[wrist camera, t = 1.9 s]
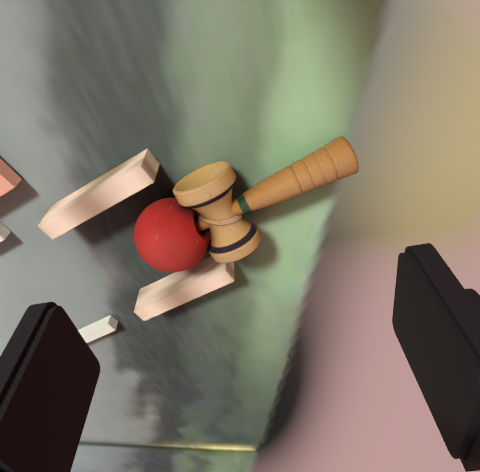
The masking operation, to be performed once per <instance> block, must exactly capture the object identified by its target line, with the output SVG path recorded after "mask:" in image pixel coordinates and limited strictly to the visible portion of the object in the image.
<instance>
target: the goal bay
mask: <svg viewBox="0 0 480 472" xmlns="http://www.w3.org/2000/svg"><path fill="white" fill-rule="evenodd" d="M10 232H11V231H10V230H9V229H8V228H7V227H5V226H4V225H3V224H2V223H1V222H0V242H1V241H3V240H5V239H6V237H7V236H8V235H9V233H10ZM117 324H118V321H117V320H116V319H115V318H114V317H112V316H111V315H110V316H107V317H105V318H103V319H101V320H99V321H96V322H94V323H92V324H90V325H88V326H86V327H83V328H81V329H79V330H78V331H79V333H80V334H81V336H82V337H83V339H84V340H85V342H86V343H88V342H91V341H93V340H95V339H97V338H100V337H102V336H104V335H106V334H109V333H111V332H113V331H115V330H116V327H117Z"/></svg>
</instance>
